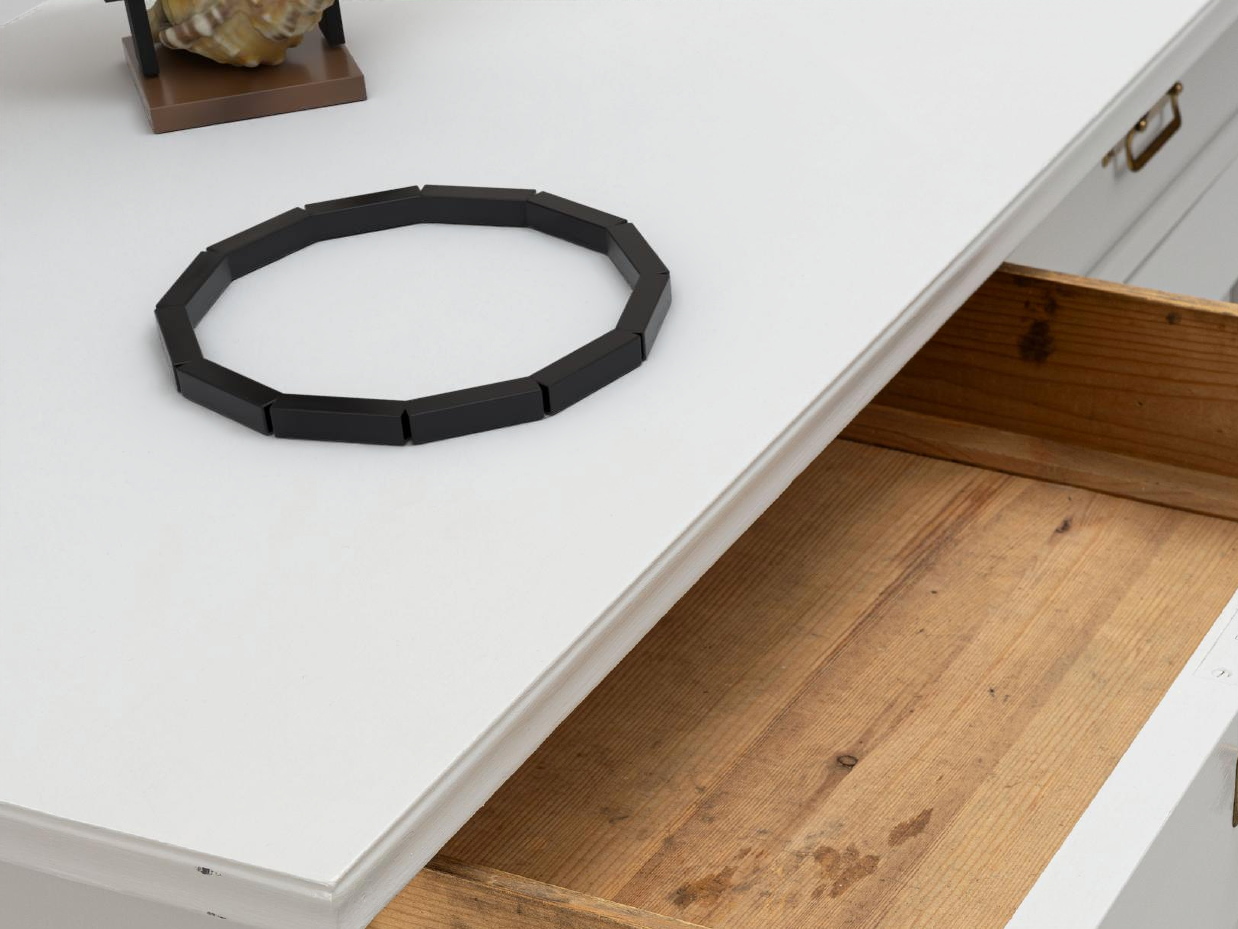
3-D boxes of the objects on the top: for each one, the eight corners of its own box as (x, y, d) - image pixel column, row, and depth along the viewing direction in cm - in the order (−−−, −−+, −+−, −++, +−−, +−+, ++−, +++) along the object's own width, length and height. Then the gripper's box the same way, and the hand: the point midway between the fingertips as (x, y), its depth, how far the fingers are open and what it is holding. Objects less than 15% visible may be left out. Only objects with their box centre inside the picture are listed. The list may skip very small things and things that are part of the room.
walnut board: (154, 134, 101) (149, 108, 101) (126, 61, 109) (121, 37, 108) (367, 99, 104) (364, 74, 103) (325, 30, 111) (322, 6, 111)
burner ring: (209, 487, 76) (202, 457, 76) (134, 261, 91) (128, 234, 90) (733, 380, 81) (732, 351, 81) (583, 181, 96) (581, 155, 95)
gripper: (-116, -448, 86) (25, 113, 100) (409, -499, 91) (472, 41, 105) (-125, -477, 92) (9, 58, 106) (370, -524, 97) (435, -8, 111)
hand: (240, 49), depth 105 cm, fingers open, 8 cm apart
